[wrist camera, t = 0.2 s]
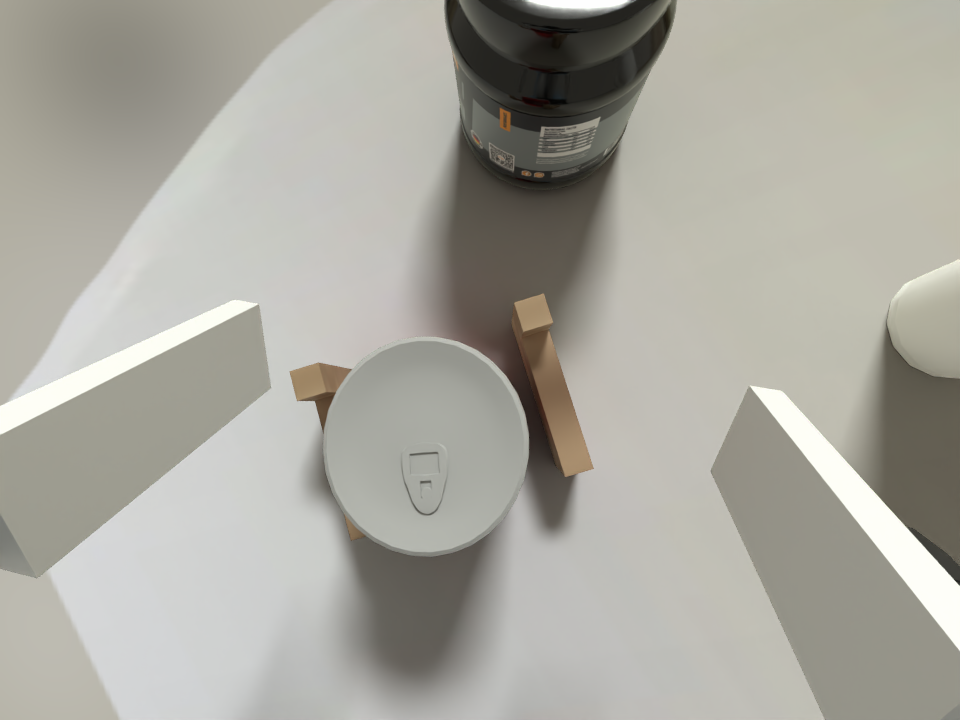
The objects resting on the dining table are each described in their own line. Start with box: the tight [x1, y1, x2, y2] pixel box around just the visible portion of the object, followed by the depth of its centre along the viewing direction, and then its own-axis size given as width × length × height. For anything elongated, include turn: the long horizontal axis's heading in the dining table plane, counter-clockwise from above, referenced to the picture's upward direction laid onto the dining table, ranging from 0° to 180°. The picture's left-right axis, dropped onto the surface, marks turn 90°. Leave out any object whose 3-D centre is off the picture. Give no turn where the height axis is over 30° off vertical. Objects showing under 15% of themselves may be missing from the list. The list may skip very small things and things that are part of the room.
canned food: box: [323, 336, 529, 557], centre depth 21 cm, size 8×8×11 cm
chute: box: [290, 293, 594, 541], centre depth 23 cm, size 9×13×6 cm
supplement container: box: [444, 0, 677, 190], centre depth 22 cm, size 10×10×12 cm
